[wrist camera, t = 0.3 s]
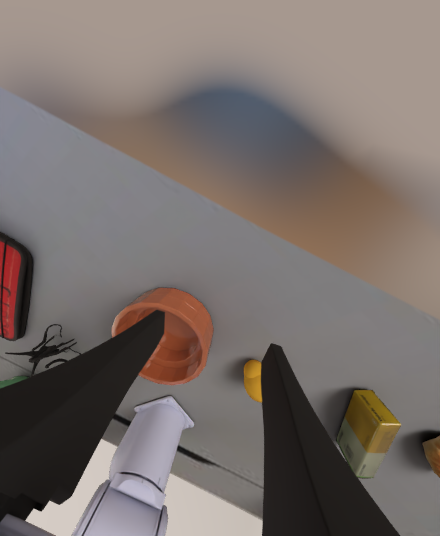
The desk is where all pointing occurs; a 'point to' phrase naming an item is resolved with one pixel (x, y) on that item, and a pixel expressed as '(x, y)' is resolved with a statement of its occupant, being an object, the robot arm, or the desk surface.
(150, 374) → the bowl
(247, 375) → the blob
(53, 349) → the creature
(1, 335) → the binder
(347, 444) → the medication box
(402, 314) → the desk surface
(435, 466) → the pastry
